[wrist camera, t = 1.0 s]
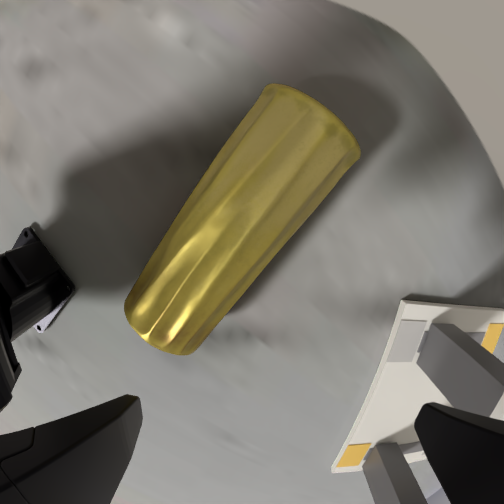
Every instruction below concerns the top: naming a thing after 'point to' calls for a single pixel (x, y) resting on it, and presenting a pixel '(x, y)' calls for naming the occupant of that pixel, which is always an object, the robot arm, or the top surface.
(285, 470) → the top surface
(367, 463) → the switch
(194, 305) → the vase
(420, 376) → the switch board
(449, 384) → the switch
